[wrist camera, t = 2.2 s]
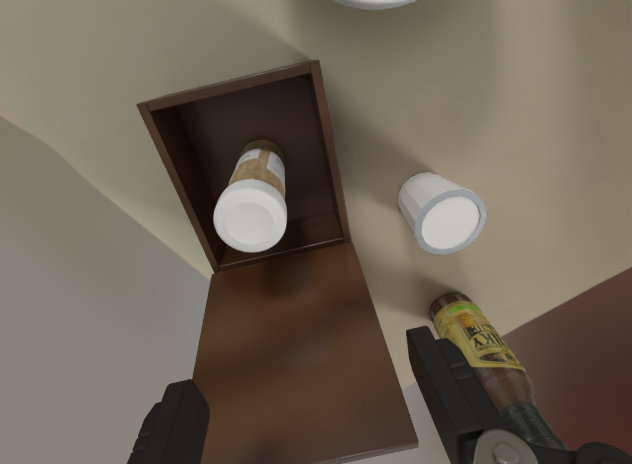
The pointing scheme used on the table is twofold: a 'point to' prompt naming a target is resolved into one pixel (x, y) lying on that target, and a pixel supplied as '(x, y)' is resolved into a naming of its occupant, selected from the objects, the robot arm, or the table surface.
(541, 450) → the robot arm
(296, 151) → the chest
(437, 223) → the shot glass
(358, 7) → the cereal bowl
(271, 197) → the sprinkles bottle
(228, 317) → the chest lid
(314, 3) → the table surface
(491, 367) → the sauce bottle
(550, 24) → the table surface
